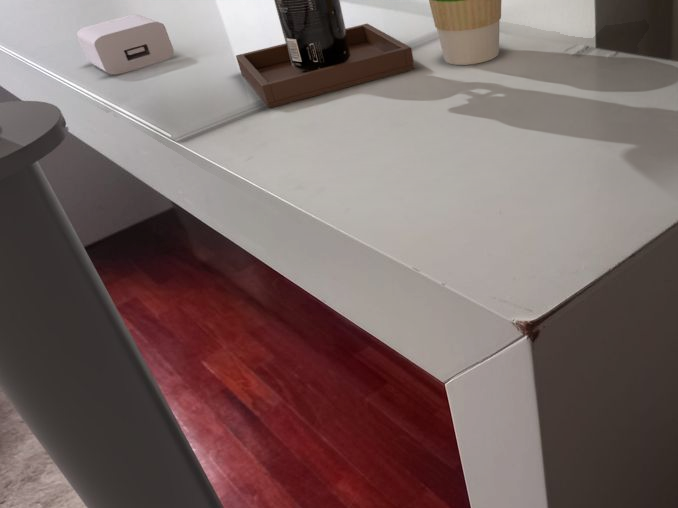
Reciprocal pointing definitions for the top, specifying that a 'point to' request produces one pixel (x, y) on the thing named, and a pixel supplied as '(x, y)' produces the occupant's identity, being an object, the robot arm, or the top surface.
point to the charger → (125, 43)
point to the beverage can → (313, 33)
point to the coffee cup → (467, 29)
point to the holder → (291, 84)
